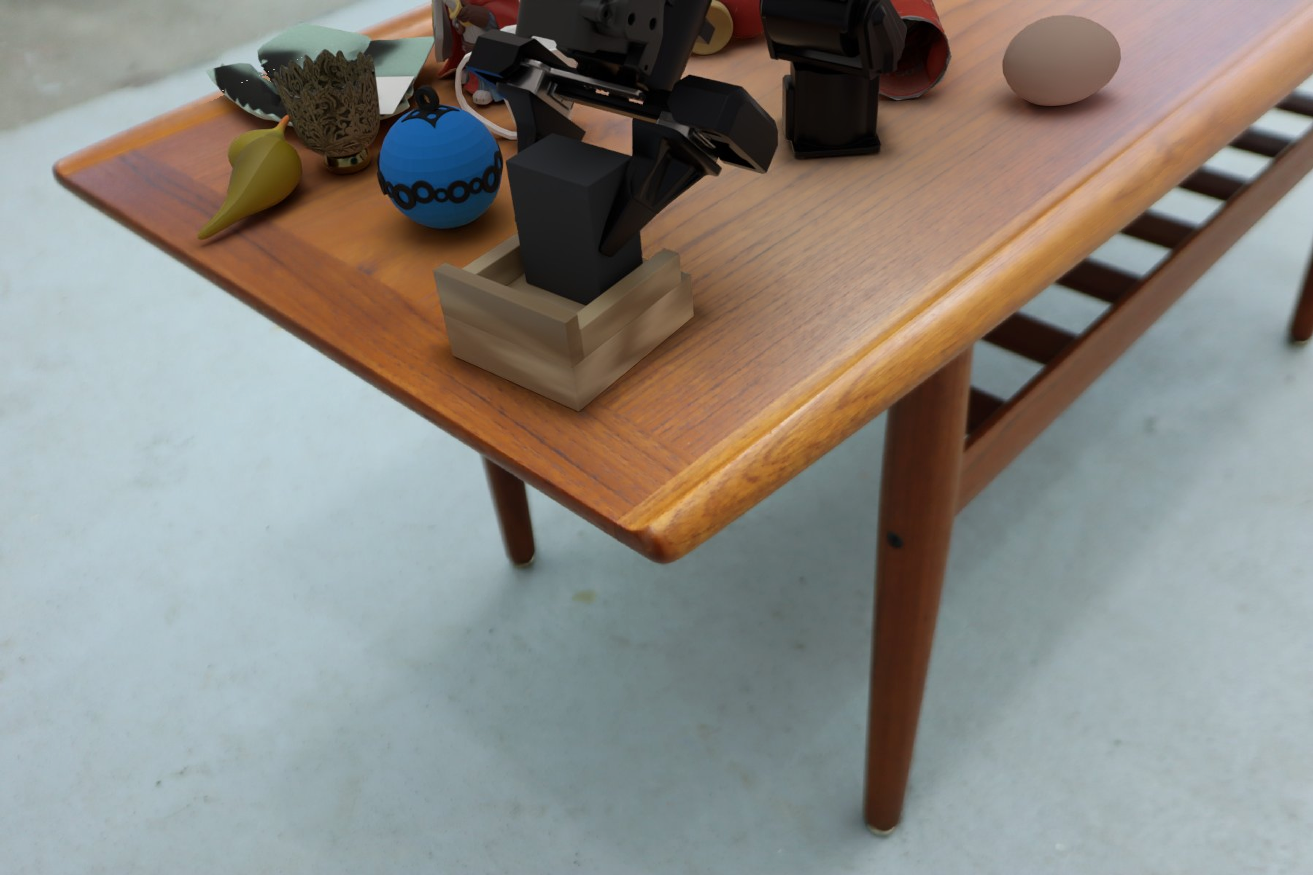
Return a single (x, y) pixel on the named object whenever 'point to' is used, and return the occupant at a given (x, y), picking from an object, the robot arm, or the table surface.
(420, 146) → the ornament
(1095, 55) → the egg
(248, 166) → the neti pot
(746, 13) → the kendama
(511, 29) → the cup
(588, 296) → the black rectangular block
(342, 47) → the cloth
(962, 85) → the table surface
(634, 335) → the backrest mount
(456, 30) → the figurine
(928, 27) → the beverage can
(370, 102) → the cup
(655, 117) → the robot arm
